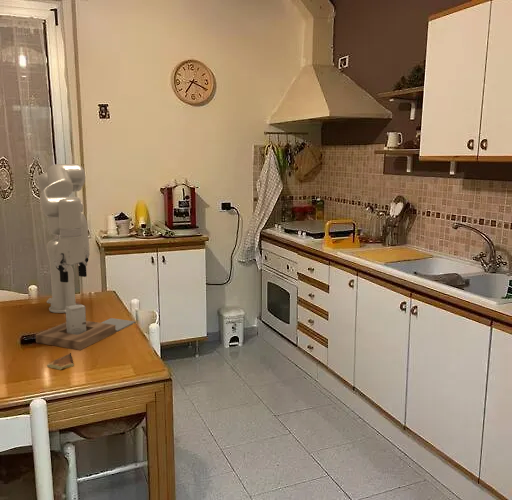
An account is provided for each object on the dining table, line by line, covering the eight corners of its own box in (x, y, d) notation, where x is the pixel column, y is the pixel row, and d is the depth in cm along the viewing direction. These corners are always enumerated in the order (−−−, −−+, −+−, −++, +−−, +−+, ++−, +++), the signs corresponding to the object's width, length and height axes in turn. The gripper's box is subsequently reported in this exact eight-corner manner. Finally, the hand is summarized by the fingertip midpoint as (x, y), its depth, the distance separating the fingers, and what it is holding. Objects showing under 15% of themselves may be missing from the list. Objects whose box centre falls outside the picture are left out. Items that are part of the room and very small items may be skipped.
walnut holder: (36, 342, 189) (35, 334, 189) (74, 326, 207) (73, 318, 207) (80, 350, 182) (79, 341, 181) (115, 332, 200) (115, 325, 200)
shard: (70, 356, 177) (70, 351, 177) (88, 360, 174) (88, 355, 174) (46, 368, 167) (45, 363, 167) (64, 372, 164) (63, 367, 164)
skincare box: (71, 340, 191) (69, 309, 189) (66, 337, 194) (64, 306, 192) (87, 337, 195) (85, 305, 193) (82, 334, 198) (80, 303, 196)
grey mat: (92, 327, 205) (92, 326, 205) (111, 319, 216) (111, 318, 216) (117, 331, 201) (117, 330, 201) (135, 322, 212) (135, 321, 212)
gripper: (78, 229, 197) (81, 273, 200) (45, 235, 181) (48, 283, 184) (95, 230, 194) (97, 275, 197) (62, 236, 178) (65, 285, 181)
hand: (73, 279), depth 191 cm, fingers open, 9 cm apart
